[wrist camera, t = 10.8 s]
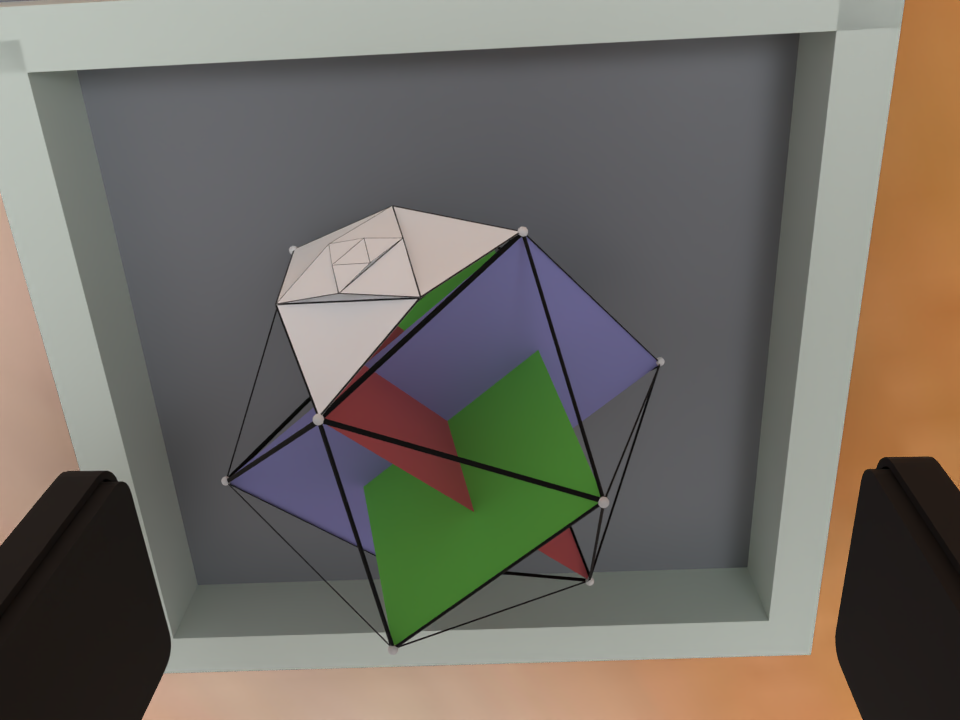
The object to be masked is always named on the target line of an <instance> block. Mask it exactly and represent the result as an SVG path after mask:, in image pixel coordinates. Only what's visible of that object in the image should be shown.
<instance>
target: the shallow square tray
mask: <svg viewBox="0 0 960 720" xmlns="http://www.w3.org/2000/svg"><path fill="white" fill-rule="evenodd" d="M904 2H905V0H0V193H1V196H2V200H3V203H4V207H5V210H6V214H7V217H8V221H9V224H10V228H11V231H12V235H13V238H14V242H15V245H16V249H17V252H18V256H19V259H20V263H21V266H22V270H23V273H24V277H25V280H26V284H27V287H28V291H29V294H30V298H31V301H32V305H33V308H34V312H35V315H36V318H37V322H38V325H39V329H40V332H41V336H42V339H43V343H44V346H45V350H46V353H47V357H48V360H49V364H50V367H51V371H52V374H53V378H54V381H55V385H56V388H57V392H58V395H59V399H60V402H61V406H62V409H63V413H64V416H65V420H66V423H67V427H68V430H69V434H70V437H71V441H72V444H73V448H74V451H75V455H76V458H77V462H78V465H79V468H80V471H110V472H112V473H113V474H114V475H115V476H116V478H117V480H118V481H123V482H125V483H127V485H128V486H129V488H130V490H131V493H132V497H133V501H134V504H135V508H136V512H137V515H138V519H139V523H140V526H141V530H142V534H143V537H144V541H145V544H146V548H147V552H148V555H149V559H150V563H151V566H152V570H153V574H154V577H155V581H156V585H157V588H158V592H159V596H160V599H161V603H162V607H163V610H164V614H165V618H166V621H167V625H168V629H169V632H170V637H171V653H170V658H169V662H168V665H167V667H166V669H165V671H164V673H193V672H228V671H262V670H297V669H332V668H366V667H401V666H436V665H471V664H505V663H540V662H575V661H609V660H644V659H679V658H714V657H748V656H783V655H811V650H812V643H813V636H814V629H815V622H816V615H817V608H818V601H819V594H820V587H821V580H822V573H823V566H824V559H825V552H826V545H827V538H828V531H829V524H830V517H831V510H832V503H833V496H834V490H835V483H836V476H837V469H838V462H839V455H840V448H841V441H842V434H843V427H844V420H845V413H846V406H847V399H848V392H849V385H850V378H851V371H852V364H853V357H854V350H855V343H856V336H857V329H858V323H859V316H860V309H861V302H862V295H863V288H864V281H865V274H866V267H867V260H868V253H869V246H870V239H871V232H872V225H873V218H874V211H875V204H876V197H877V190H878V183H879V176H880V169H881V162H882V156H883V149H884V142H885V135H886V128H887V121H888V114H889V107H890V100H891V93H892V86H893V79H894V72H895V65H896V58H897V51H898V44H899V37H900V30H901V23H902V16H903V9H904ZM392 205H394V206H399V207H404V208H409V209H414V210H419V211H424V212H429V213H434V214H439V215H444V216H449V217H454V218H459V219H464V220H469V221H474V222H479V223H484V224H489V225H494V226H499V227H504V228H509V229H514V230H518V229H519V228H520V227H526V228H527V230H528V234H527V235H528V236H529V237H530V238H531V239H532V240H533V241H534V242H535V243H536V244H537V245H538V246H539V247H540V248H541V249H542V250H543V251H544V252H545V253H547V254H548V255H549V256H550V257H551V258H552V259H553V260H554V261H555V262H556V263H557V264H558V265H559V266H560V267H561V268H562V269H563V270H564V271H565V272H566V273H567V274H569V275H570V276H571V277H572V278H573V279H574V280H575V281H576V282H577V283H578V284H579V285H580V286H581V287H582V288H583V289H584V290H585V291H586V292H587V293H588V294H589V295H591V296H592V297H593V298H594V299H595V300H596V301H597V302H598V303H599V304H600V305H601V306H602V307H603V308H604V309H605V310H606V311H607V312H608V313H609V314H610V315H611V316H612V317H614V318H615V319H616V320H617V321H618V322H619V323H620V324H621V325H622V326H623V327H624V328H625V329H626V330H627V331H628V332H629V333H630V334H631V335H632V336H633V337H634V338H636V339H637V340H638V341H639V342H640V343H641V344H642V345H643V346H644V347H645V348H646V349H647V350H648V351H649V352H650V353H651V354H652V355H653V356H654V357H655V358H656V359H657V358H658V357H662V358H663V359H664V361H665V362H664V364H663V365H662V366H660V368H659V371H658V374H657V377H656V380H655V383H654V386H653V390H652V393H651V396H650V399H649V402H648V405H647V408H646V411H645V414H644V417H643V420H642V423H641V427H640V430H639V433H638V436H637V439H636V442H635V445H634V448H633V451H632V454H631V457H630V460H629V464H628V467H627V470H626V473H625V476H624V479H623V482H622V485H621V488H620V491H619V494H618V497H617V501H616V504H615V507H614V510H613V513H612V516H611V519H610V522H609V525H608V528H607V531H606V534H605V538H604V541H603V544H602V547H601V550H600V553H599V556H598V559H597V562H596V565H595V568H594V571H593V575H592V578H593V579H594V584H593V585H591V586H589V585H587V584H586V583H583V584H580V585H577V586H575V587H572V588H569V589H566V590H563V591H560V592H557V593H554V594H552V595H549V596H546V597H543V598H540V599H537V600H534V601H532V602H529V603H526V604H523V605H520V606H517V607H514V608H511V609H509V610H506V611H503V612H500V613H497V614H494V615H491V616H489V617H486V618H483V619H480V620H477V621H474V622H471V623H468V624H466V625H463V626H460V627H457V628H454V629H451V630H448V631H445V632H443V633H440V634H437V635H434V636H431V637H428V638H425V639H423V640H420V641H417V642H414V643H411V644H408V645H405V646H402V647H400V648H398V652H397V654H395V655H391V654H389V652H388V647H389V645H388V644H387V643H386V642H385V641H384V640H383V639H382V638H381V637H380V636H379V635H378V634H377V633H376V632H375V631H374V630H373V629H372V628H371V627H370V626H369V625H368V624H367V623H366V622H365V621H364V620H363V619H362V618H361V617H360V616H359V615H358V614H357V613H356V612H355V611H354V610H353V609H352V608H351V607H350V606H349V605H348V604H347V603H346V602H345V601H344V600H343V599H342V598H341V597H340V596H339V595H338V594H337V593H336V592H335V591H334V590H333V589H332V588H331V587H330V586H329V585H328V584H327V583H326V582H325V581H324V580H323V579H322V578H321V577H320V576H319V575H318V574H317V573H316V572H315V571H314V570H313V569H312V568H311V567H310V566H309V565H308V564H307V563H306V562H305V561H304V560H303V559H302V558H301V557H300V556H299V555H298V554H297V553H296V552H295V551H294V550H293V549H292V548H291V547H290V546H289V545H288V544H287V543H286V542H285V541H284V540H283V539H282V538H281V537H280V536H279V535H278V534H277V533H276V532H275V531H274V530H273V529H272V528H271V527H270V526H269V525H268V524H267V523H266V522H265V521H264V520H263V519H262V518H261V517H260V516H259V515H258V514H257V513H256V512H255V511H254V510H253V509H252V508H251V507H250V506H249V505H248V504H247V503H246V502H245V501H244V500H243V499H242V498H241V497H240V496H239V495H238V494H237V493H236V492H235V491H234V490H233V489H232V488H231V487H230V486H229V485H226V486H225V485H223V484H222V482H221V480H222V478H223V477H225V476H227V474H228V470H229V467H230V463H231V460H232V457H233V453H234V450H235V446H236V443H237V440H238V436H239V433H240V429H241V426H242V423H243V419H244V416H245V412H246V409H247V406H248V402H249V399H250V396H251V392H252V389H253V385H254V382H255V379H256V375H257V372H258V368H259V365H260V362H261V358H262V355H263V351H264V348H265V345H266V341H267V338H268V334H269V331H270V328H271V324H272V321H273V317H274V314H275V311H276V307H275V303H276V300H277V297H278V294H279V291H280V288H281V285H282V282H283V279H284V276H285V273H286V270H287V267H288V264H289V261H290V258H291V255H292V254H290V252H289V248H290V247H291V246H296V247H299V246H302V245H304V244H306V243H308V242H311V241H313V240H315V239H317V238H320V237H322V236H324V235H327V234H329V233H331V232H333V231H336V230H338V229H340V228H342V227H345V226H347V225H349V224H351V223H354V222H356V221H358V220H360V219H363V218H365V217H367V216H369V215H372V214H374V213H376V212H378V211H381V210H383V209H385V208H387V207H390V206H392ZM506 243H507V242H506ZM506 243H505V244H506ZM505 244H503V245H501V246H500V248H502V247H503V246H504V245H505ZM498 250H499V249H498V248H497V249H495V252H497V251H498ZM656 370H657V368H656V369H654V370H652V371H650V372H648V373H647V374H646V375H644V376H643V377H641V378H640V379H639V380H637V381H636V382H635V383H633V384H632V385H631V386H629V387H628V388H627V389H625V390H624V391H623V392H621V393H620V394H618V395H617V396H616V397H614V398H613V399H612V400H610V401H609V402H608V403H606V404H605V405H604V406H602V407H601V408H600V409H598V410H597V411H595V412H594V413H593V414H591V415H590V416H589V417H587V418H586V419H585V420H583V421H582V423H583V426H584V430H585V433H586V436H587V440H588V443H589V446H590V450H591V453H592V456H593V460H594V463H595V466H596V469H597V473H598V476H599V479H600V483H601V486H602V489H603V493H604V496H605V495H606V492H607V490H608V487H609V485H610V483H611V480H612V478H613V475H614V473H615V470H616V468H617V465H618V463H619V461H620V458H621V456H622V453H623V451H624V448H625V446H626V443H627V441H628V439H629V436H630V434H631V431H632V429H633V426H634V424H635V421H636V419H637V417H638V414H639V412H640V409H641V407H642V404H643V402H644V399H645V397H646V395H647V392H648V390H649V387H650V385H651V382H652V380H653V377H654V375H655V373H656ZM308 397H309V394H308V391H307V389H306V386H305V383H304V381H303V378H302V375H301V373H300V370H299V367H298V365H297V362H296V359H295V357H294V354H293V352H292V349H291V346H290V344H289V341H288V338H287V336H286V333H285V330H284V328H283V325H282V322H281V320H280V317H279V315H278V312H277V313H276V316H275V319H274V323H273V326H272V330H271V333H270V336H269V340H268V343H267V346H266V350H265V353H264V357H263V360H262V363H261V367H260V370H259V374H258V377H257V380H256V384H255V387H254V391H253V394H252V397H251V401H250V404H249V408H248V411H247V414H246V418H245V421H244V425H243V428H242V431H241V435H240V438H239V441H238V445H237V448H236V452H235V455H234V458H233V462H232V465H231V469H230V472H229V475H230V474H231V473H232V472H233V471H234V470H235V469H236V468H237V467H238V466H239V465H240V464H241V463H242V462H243V461H244V460H245V459H246V458H247V457H248V456H249V455H250V454H251V453H252V452H253V451H254V450H255V449H256V448H257V447H258V446H259V445H260V444H261V443H262V442H263V441H264V440H265V439H266V438H267V437H268V436H269V435H270V434H272V433H273V432H274V431H275V430H276V429H277V428H278V427H279V426H280V425H281V424H282V423H283V422H284V421H285V420H286V419H287V418H288V417H289V416H290V415H291V414H292V413H293V412H294V411H295V410H296V409H297V408H298V407H299V406H300V405H301V404H302V403H303V402H304V401H305V400H306V399H307V398H308ZM646 401H647V400H646ZM645 404H646V402H645ZM644 407H645V405H644ZM644 407H643V410H644ZM312 408H313V404H312V402H311V401H310V402H309V403H308V404H307V405H306V406H305V407H304V408H303V409H302V410H301V411H300V412H299V413H298V414H297V415H296V416H295V417H294V418H293V419H292V420H291V421H290V422H289V423H288V424H287V425H286V426H285V427H284V428H283V429H282V430H281V431H280V432H279V433H278V434H277V435H276V436H275V437H274V438H273V439H272V440H271V441H270V442H269V443H268V444H267V445H266V446H265V447H264V448H263V449H265V448H266V447H267V446H268V445H269V444H270V443H272V442H273V441H274V440H275V439H276V438H278V437H279V436H280V435H281V434H282V433H284V432H285V431H286V430H287V429H288V428H290V427H291V426H292V425H293V424H294V423H295V422H297V421H298V420H299V419H300V418H301V417H303V416H304V415H305V414H306V413H307V412H309V411H310V410H311V409H312ZM643 410H642V412H641V415H640V417H639V419H638V422H637V424H636V427H635V429H634V432H633V434H632V437H631V439H630V442H629V444H628V447H627V449H626V452H625V454H624V456H623V459H622V461H621V464H620V466H619V469H618V471H617V474H616V476H615V479H614V481H613V484H612V486H611V489H610V491H609V494H608V496H607V498H608V500H609V505H608V507H606V508H604V512H603V518H602V523H601V529H600V534H599V540H598V545H597V550H596V555H597V552H598V549H599V546H600V542H601V539H602V536H603V533H604V530H605V527H606V524H607V521H608V518H609V515H610V512H611V509H612V505H613V502H614V499H615V496H616V493H617V490H618V487H619V484H620V481H621V478H622V475H623V472H624V468H625V465H626V462H627V459H628V456H629V453H630V450H631V447H632V444H633V441H634V438H635V434H636V431H637V428H638V425H639V422H640V419H641V416H642V413H643ZM573 430H574V432H575V435H576V437H577V439H578V441H579V444H580V446H581V448H582V451H583V453H584V455H585V457H586V460H587V462H588V464H589V466H590V469H591V471H592V473H593V470H592V467H591V464H590V460H589V457H588V454H587V450H586V447H585V444H584V440H583V437H582V434H581V431H580V427H579V424H578V425H577V426H575V427H574V428H573ZM263 449H262V450H263ZM262 450H261V451H262ZM261 451H260V452H261ZM260 452H259V453H260ZM259 453H258V454H259ZM229 475H228V476H229ZM593 476H594V474H593ZM594 478H595V477H594ZM232 487H233V486H232ZM233 488H234V489H235V490H236V491H237V492H238V493H239V494H240V495H241V496H242V497H243V498H244V499H245V500H246V501H247V502H248V503H249V504H250V505H251V506H252V507H253V508H254V509H255V510H256V511H257V512H258V513H259V514H260V515H261V516H262V517H263V518H264V519H265V520H266V521H267V522H268V523H269V524H270V525H271V526H272V527H273V528H274V529H275V530H276V531H277V532H278V533H279V534H280V535H281V536H282V537H283V538H284V539H285V540H286V541H287V542H288V543H289V544H290V545H291V546H292V547H293V548H294V549H295V550H296V551H297V552H298V553H299V554H300V555H301V556H302V557H303V558H304V559H305V560H306V561H307V562H308V563H309V564H310V565H311V566H312V567H313V568H314V569H315V570H316V571H317V572H318V573H319V574H320V575H321V576H322V577H323V578H324V579H325V580H326V581H327V582H328V583H329V584H330V585H331V586H332V587H333V588H334V589H335V590H336V591H337V592H338V593H339V594H340V595H341V596H342V597H343V598H344V599H345V600H346V601H347V602H348V603H349V604H350V605H351V606H352V607H353V608H354V609H355V610H356V611H357V612H358V613H359V614H360V615H361V616H362V617H363V618H364V619H365V620H366V621H367V622H368V623H369V624H370V625H371V626H372V627H373V628H374V629H375V630H376V631H377V632H378V633H379V634H380V635H381V636H382V637H383V638H384V639H385V640H386V641H387V642H388V639H387V635H386V632H385V629H384V626H383V623H382V620H381V617H380V614H379V611H378V608H377V605H376V602H375V599H374V596H373V593H372V590H371V586H370V583H369V580H368V577H367V574H366V571H365V568H364V565H363V562H362V559H361V556H360V553H359V550H358V548H357V547H355V546H353V545H351V544H349V543H347V542H345V541H343V540H341V539H339V538H337V537H335V536H333V535H331V534H329V533H327V532H325V531H323V530H321V529H319V528H317V527H315V526H313V525H311V524H308V523H306V522H304V521H302V520H300V519H298V518H296V517H294V516H292V515H290V514H288V513H286V512H284V511H282V510H280V509H278V508H276V507H274V506H272V505H270V504H268V503H266V502H264V501H262V500H260V499H257V498H255V497H253V496H251V495H249V494H247V493H245V492H243V491H241V490H239V489H237V488H235V487H233ZM600 511H601V507H598V508H597V509H595V510H594V511H592V512H591V513H590V514H588V515H587V516H585V517H584V518H582V519H581V520H580V521H578V522H577V523H575V524H574V525H572V528H573V531H574V534H575V536H576V539H577V541H578V544H579V546H580V549H581V551H582V554H583V556H584V559H585V562H586V564H587V567H588V569H589V572H590V568H591V562H592V557H593V551H594V545H595V540H596V534H597V528H598V522H599V517H600ZM364 553H365V556H366V559H367V562H368V565H369V569H370V572H371V575H372V578H373V581H374V584H375V587H376V590H377V593H378V596H379V599H380V603H381V606H382V609H383V612H384V615H385V618H386V621H387V624H388V619H387V614H386V608H385V603H384V597H383V592H382V586H381V581H380V576H379V570H378V565H377V559H376V556H374V555H372V554H370V553H368V552H366V551H364ZM595 558H596V556H595ZM508 571H509V572H520V573H531V574H542V575H554V576H565V577H576V578H585V577H583V576H581V575H579V574H578V573H576V572H574V571H573V570H571V569H569V568H568V567H566V566H564V565H563V564H561V563H559V562H558V561H556V560H554V559H552V558H551V557H549V556H547V555H546V554H544V553H542V552H541V551H539V550H537V551H535V552H534V553H532V554H531V555H529V556H528V557H527V558H525V559H524V560H522V561H521V562H519V563H518V564H517V565H515V566H514V567H512V568H511V569H509V570H508ZM581 582H582V581H571V580H560V579H549V578H538V577H527V576H516V575H505V574H502V575H501V576H499V577H498V578H497V579H495V580H494V581H492V582H491V583H489V584H488V585H487V586H485V587H484V588H482V589H481V590H479V591H478V592H477V593H475V594H474V595H472V596H471V597H469V598H468V599H467V600H465V601H464V602H462V603H461V604H459V605H458V606H457V607H455V608H454V609H452V610H451V611H449V612H448V613H447V614H445V615H444V616H442V617H441V618H439V619H438V620H436V621H435V622H434V623H432V624H431V625H429V626H428V627H426V628H425V629H424V630H422V631H421V632H419V633H418V634H416V635H415V636H414V637H412V638H411V639H409V640H408V641H406V642H405V643H408V642H411V641H414V640H417V639H420V638H423V637H426V636H428V635H431V634H434V633H437V632H440V631H443V630H446V629H449V628H451V627H454V626H457V625H460V624H463V623H466V622H469V621H472V620H475V619H477V618H480V617H483V616H486V615H489V614H492V613H495V612H498V611H500V610H503V609H506V608H509V607H512V606H515V605H518V604H521V603H524V602H526V601H529V600H532V599H535V598H538V597H541V596H544V595H547V594H549V593H552V592H555V591H558V590H561V589H564V588H567V587H570V586H573V585H575V584H578V583H581ZM388 627H389V625H388ZM388 643H389V642H388ZM405 643H404V644H405ZM402 645H403V644H402Z"/></svg>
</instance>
